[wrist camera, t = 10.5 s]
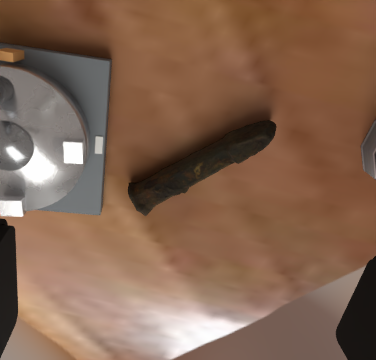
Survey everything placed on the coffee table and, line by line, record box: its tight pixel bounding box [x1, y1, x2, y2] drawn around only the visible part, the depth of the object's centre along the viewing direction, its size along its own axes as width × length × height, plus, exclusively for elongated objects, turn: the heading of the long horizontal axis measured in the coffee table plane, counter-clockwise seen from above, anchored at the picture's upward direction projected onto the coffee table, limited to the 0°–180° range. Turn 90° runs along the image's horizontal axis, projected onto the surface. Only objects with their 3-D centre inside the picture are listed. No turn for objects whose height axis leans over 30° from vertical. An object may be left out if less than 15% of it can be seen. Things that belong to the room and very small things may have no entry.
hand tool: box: [128, 120, 276, 216], centre depth 41 cm, size 19×4×5 cm, turn 117°
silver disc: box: [0, 63, 90, 217], centre depth 33 cm, size 15×15×8 cm
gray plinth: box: [0, 42, 112, 215], centre depth 36 cm, size 18×18×5 cm
